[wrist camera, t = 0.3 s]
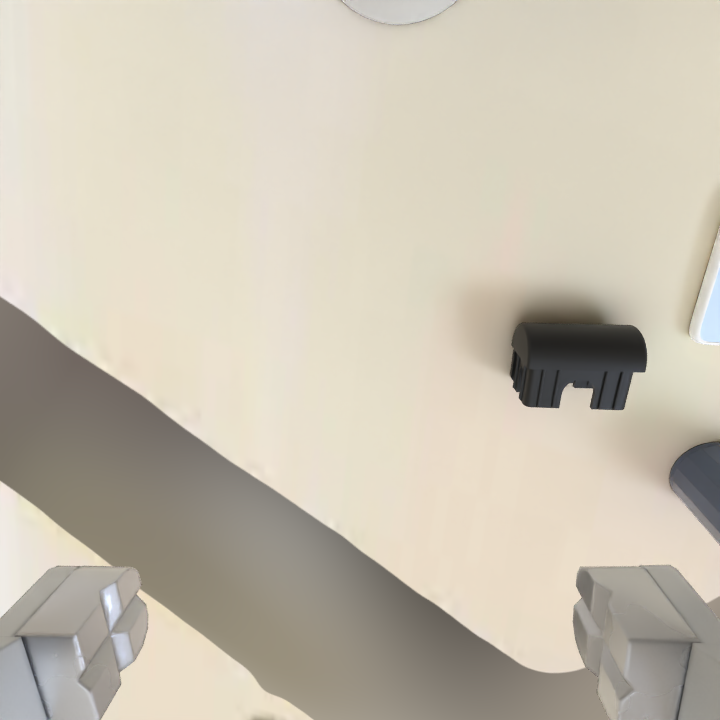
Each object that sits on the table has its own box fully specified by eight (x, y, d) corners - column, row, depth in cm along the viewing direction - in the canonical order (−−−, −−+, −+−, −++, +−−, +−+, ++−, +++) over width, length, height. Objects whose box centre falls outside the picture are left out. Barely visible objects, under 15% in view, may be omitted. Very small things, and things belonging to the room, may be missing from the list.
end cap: (619, 314, 45) (655, 338, 39) (603, 381, 48) (635, 413, 41) (513, 312, 45) (532, 335, 39) (504, 378, 48) (520, 410, 42)
